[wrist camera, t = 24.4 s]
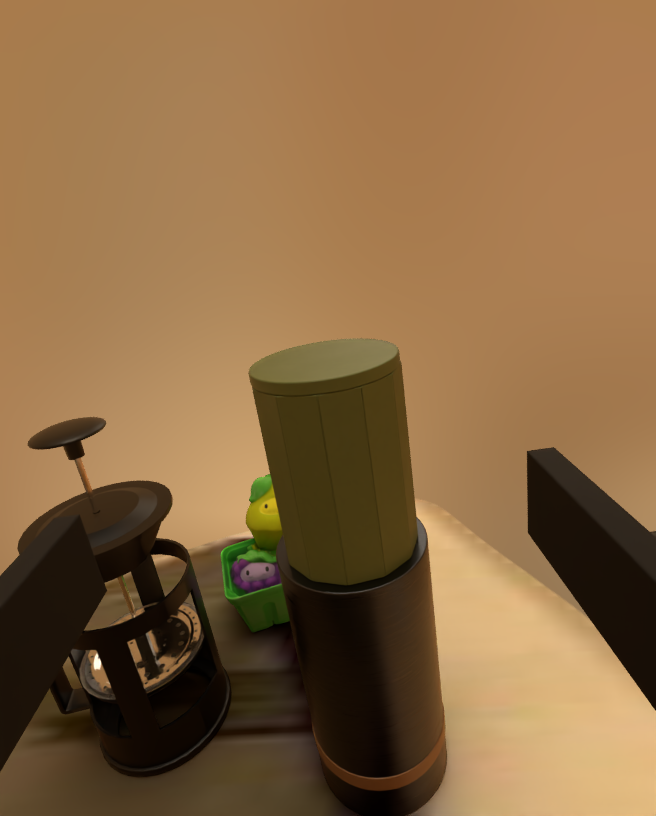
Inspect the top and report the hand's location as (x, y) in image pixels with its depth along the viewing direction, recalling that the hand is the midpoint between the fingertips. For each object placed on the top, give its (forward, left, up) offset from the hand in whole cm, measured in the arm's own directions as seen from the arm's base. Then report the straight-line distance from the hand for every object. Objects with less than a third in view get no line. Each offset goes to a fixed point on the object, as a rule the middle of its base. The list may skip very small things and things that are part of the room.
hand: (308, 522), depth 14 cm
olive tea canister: (+2, +9, -8) cm, 12 cm away
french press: (-13, +16, -24) cm, 31 cm away
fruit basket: (-2, +25, -24) cm, 35 cm away
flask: (+2, +9, -24) cm, 25 cm away
